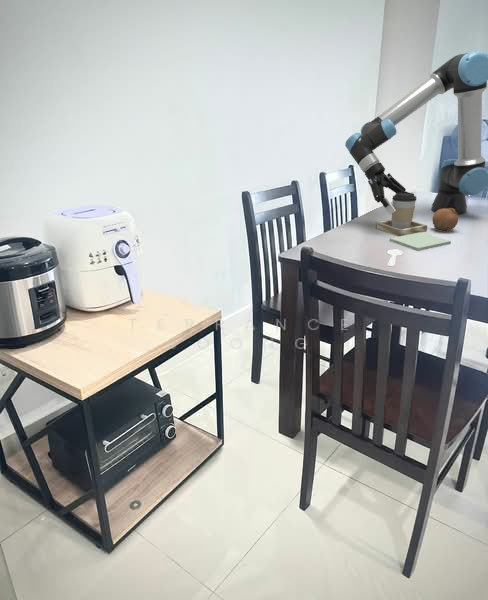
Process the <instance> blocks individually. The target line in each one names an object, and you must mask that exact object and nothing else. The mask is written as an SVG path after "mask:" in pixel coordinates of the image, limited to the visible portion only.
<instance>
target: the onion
mask: <svg viewBox="0 0 488 600" xmlns="http://www.w3.org/2000/svg"><path fill="white" fill-rule="evenodd" d="M458 216H459V215H458V214H457V212H456V210H455V209H453V208H443V209H439V210H437V211H436V212H434V213H433V216H432V219H431V221H432V224H433V227H434V228H435V230H436V231H441V232H449V231H451V230H453V229H454V228H456V226H457V225H458V222H459V217H458Z"/></svg>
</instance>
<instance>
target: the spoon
mask: <svg viewBox="0 0 488 600" xmlns="http://www.w3.org/2000/svg"><path fill="white" fill-rule="evenodd" d="M386 254H387V255H389V256H390V259H389V261H388V263H387V264H386V265H387V266H388V267H395V266H396V259H397V257H398V256H399V257H401V256H403V254H404V251H403V250H401V249H396V248H393V249H389V250H387V252H386Z"/></svg>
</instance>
